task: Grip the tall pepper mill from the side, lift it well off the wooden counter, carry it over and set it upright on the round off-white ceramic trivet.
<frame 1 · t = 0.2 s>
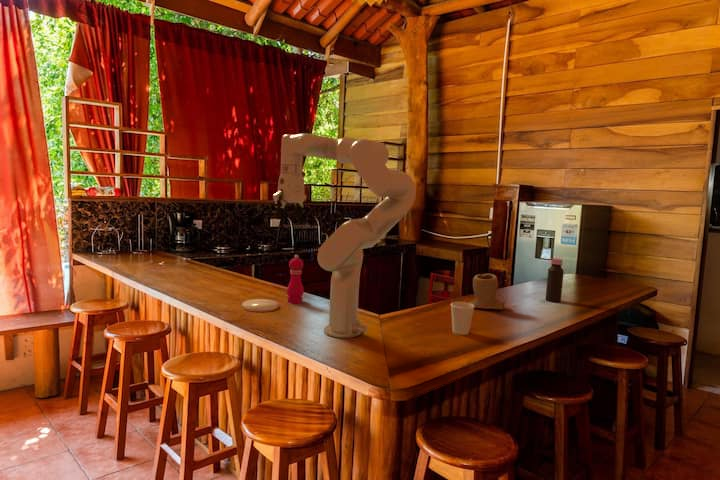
hand: (289, 219, 169), 37 cm above the counter, tool pointing down, fingers open, 9 cm apart
pepper mill: (294, 302, 200), on the counter
bottle: (553, 301, 226), on the counter
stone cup: (487, 309, 204), on the counter
dixie cup: (460, 332, 168), on the counter
trivet: (260, 307, 188), on the counter
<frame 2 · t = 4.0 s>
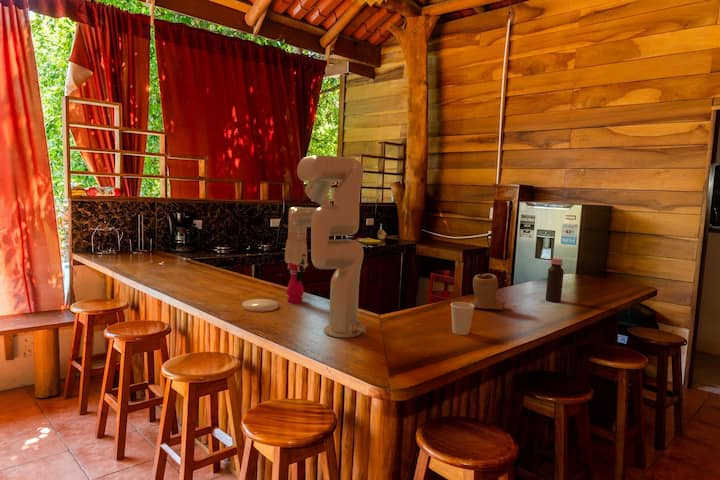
hand: (295, 279, 199), 9 cm above the counter, tool pointing down, fingers closed on pepper mill, 5 cm apart
pepper mill: (294, 301, 200), on the counter, touching gripper
everything else where it was.
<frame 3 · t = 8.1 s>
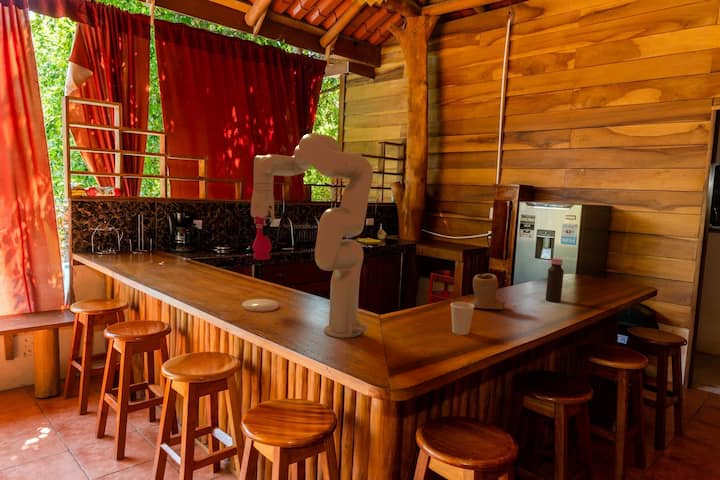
hand: (262, 234, 185), 29 cm above the counter, tool pointing down, fingers closed on pepper mill, 5 cm apart
pepper mill: (261, 258, 186), point 19 cm above the counter, touching gripper
everything else where it was.
when the fingers open (12 cm above the counter, at t = 12.3 s): pepper mill drops 1 cm, resting on trivet.
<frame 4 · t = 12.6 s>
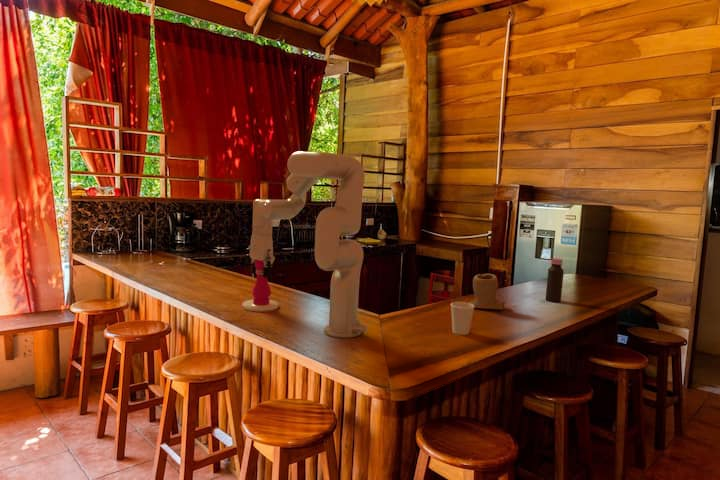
hand: (261, 275, 187), 13 cm above the counter, tool pointing down, fingers open, 7 cm apart
pepper mill: (261, 304, 188), point 1 cm above the counter, touching trivet
everything else where it was.
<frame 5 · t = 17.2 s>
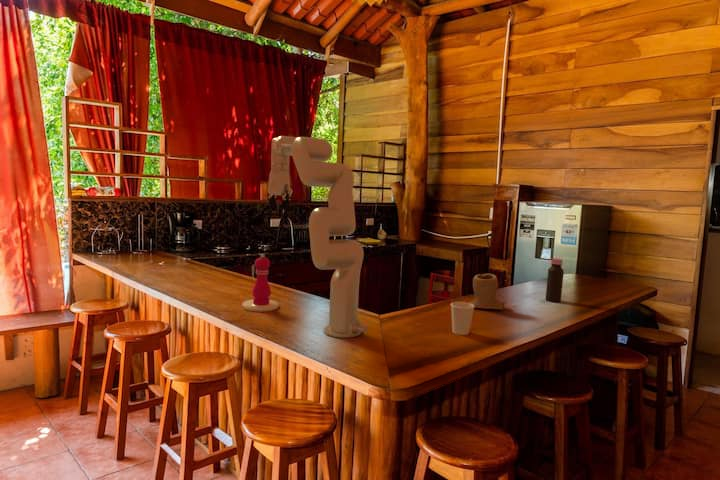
hand: (278, 209, 201), 38 cm above the counter, tool pointing down, fingers open, 9 cm apart
nothing on the counter moved.
at the end: pepper mill inside the target area on the trivet (0.5 cm from its centre), point 1.3 cm above the trivet's base; pepper mill tilted 0°; the gripper is holding nothing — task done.
